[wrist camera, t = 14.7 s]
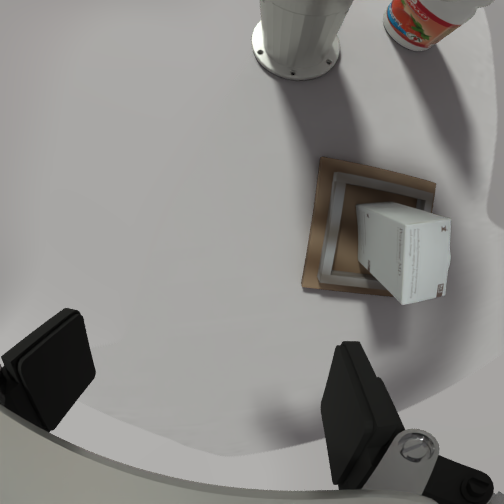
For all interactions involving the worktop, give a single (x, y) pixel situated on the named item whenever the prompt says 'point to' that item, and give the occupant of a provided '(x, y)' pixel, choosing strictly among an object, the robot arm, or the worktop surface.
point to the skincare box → (404, 249)
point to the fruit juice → (427, 20)
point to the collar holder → (352, 221)
